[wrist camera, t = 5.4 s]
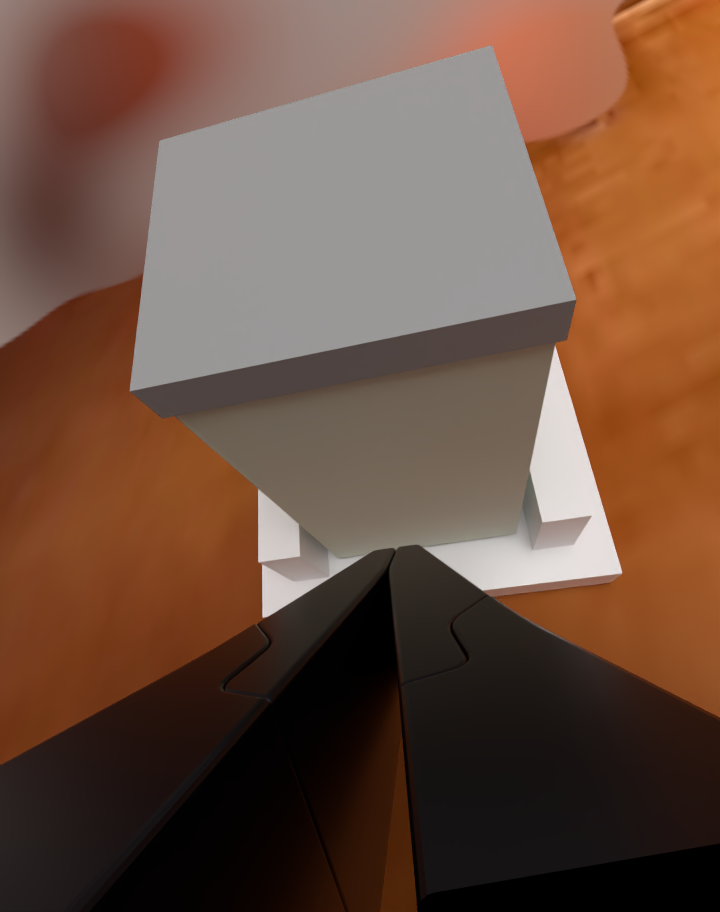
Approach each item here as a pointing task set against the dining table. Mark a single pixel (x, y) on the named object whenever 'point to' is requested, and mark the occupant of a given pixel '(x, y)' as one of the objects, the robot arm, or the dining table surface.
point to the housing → (487, 559)
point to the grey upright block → (360, 304)
